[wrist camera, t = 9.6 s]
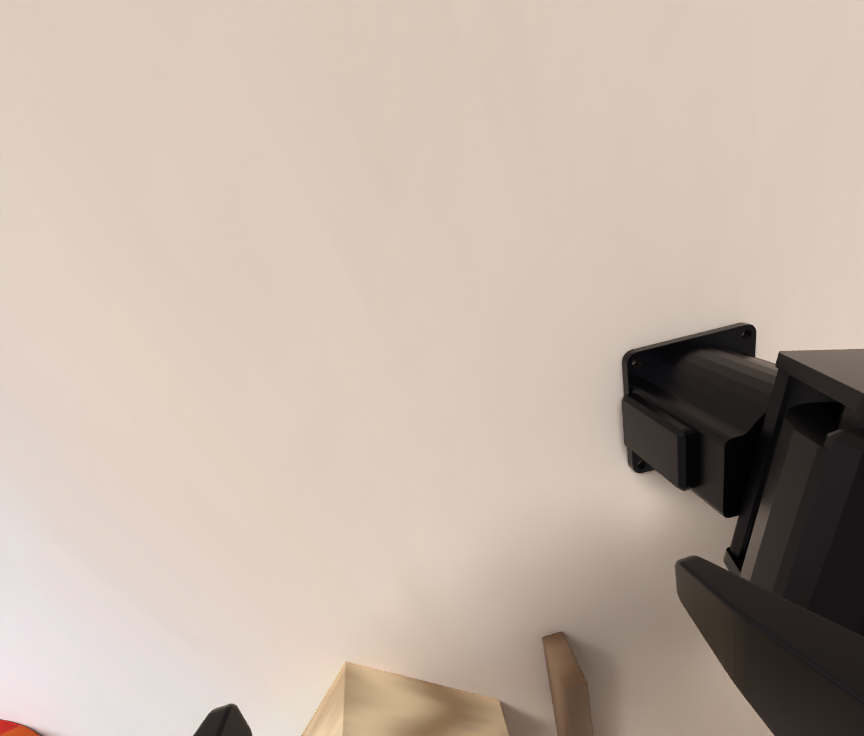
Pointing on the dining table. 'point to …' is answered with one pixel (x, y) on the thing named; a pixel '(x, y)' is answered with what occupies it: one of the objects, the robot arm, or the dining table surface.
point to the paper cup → (15, 729)
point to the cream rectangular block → (401, 708)
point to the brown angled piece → (567, 688)
